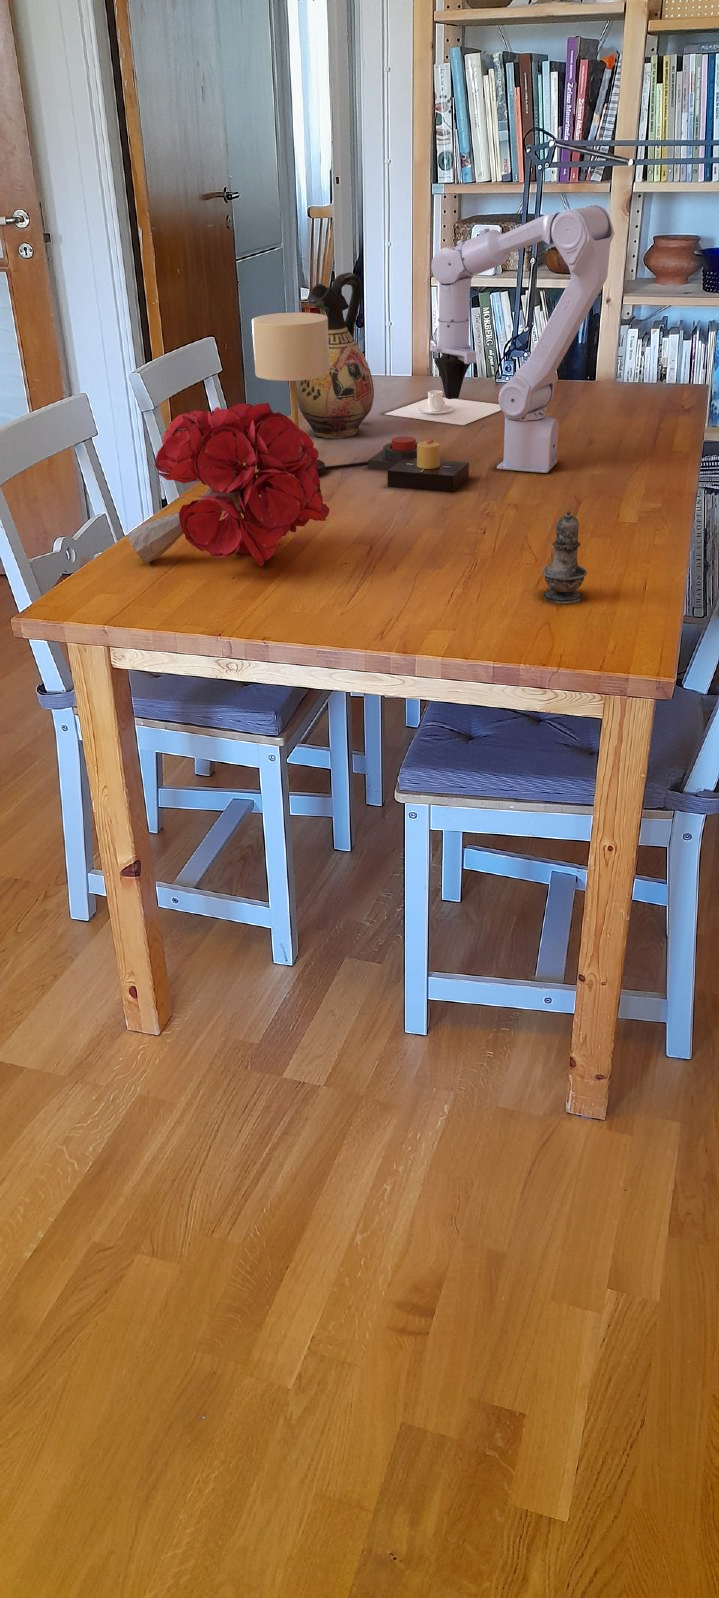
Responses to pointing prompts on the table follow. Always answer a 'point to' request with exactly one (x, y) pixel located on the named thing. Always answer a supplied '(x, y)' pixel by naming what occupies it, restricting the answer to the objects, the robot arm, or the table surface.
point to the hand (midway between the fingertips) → (452, 397)
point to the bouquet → (236, 483)
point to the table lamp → (293, 354)
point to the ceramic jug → (338, 367)
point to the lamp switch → (403, 443)
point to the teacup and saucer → (446, 409)
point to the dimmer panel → (428, 476)
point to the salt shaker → (565, 564)
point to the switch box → (390, 457)
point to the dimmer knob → (428, 454)
